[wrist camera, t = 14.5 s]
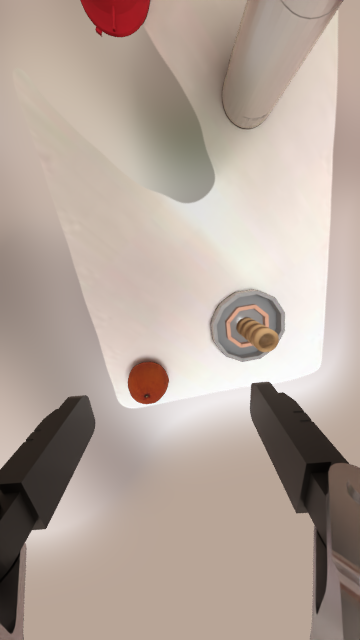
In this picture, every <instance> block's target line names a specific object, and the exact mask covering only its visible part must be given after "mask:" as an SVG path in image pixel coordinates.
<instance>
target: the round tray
mask: <svg viewBox="0 0 360 640" xmlns="http://www.w3.org/2000/svg"><path fill="white" fill-rule="evenodd" d="M244 317H249V318H251V319H253V320H255V321H257V322H259V323H261V324H262V325H264V326H266V327H268V328H270V329H272V330H273V331H275V332H276V333H277V334H278V337H279V340H280V339H281V337H282V335H283V333H284V331H285V313H284V310H283V309H282V307H281V306H280V304H279V303H278V301H277V300H276V298H275V297H273V296H270V295H268V294H266V293H263V292H261V291H258V290H254V289H253V290H246V291H240V292H236V293H233V294H232V295H230V296H229V297H227V298H226V299H225V300H224V301H222V302H221V304H220V305H219V306H218V307H217V309H216V311H215V313H214V315H213V318H212V322H211V331H212V336H213V341H214V342H215V344H216V345H217V346H218V347H219V349H220V350H221V351H222V352H223V353H224V355H225V356H226V357H229V358H232V359H235V360H238V361H241V362H244V361H250V360H255V359H260V358H262V357H263V356H265V355H266V354H267V353H269V352H270V351H269V352H261V351H259V350H258V349H257V348H256V347H254V346H253V345H252V344H251V343H250V342H249V341H247V340H246V339H245V338H244V337H243V336H241V335H240V334H239V333H238V332H237V329H236V326H237V323H238V321H239V320H240V319H242V318H244ZM278 342H279V341H278Z"/></svg>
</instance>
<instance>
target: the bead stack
mask: <svg viewBox="0 0 360 640" xmlns="http://www.w3.org/2000/svg"><path fill="white" fill-rule="evenodd" d="M236 329H237V332H238V333H239V334H240V335H241V336H243V337H244V338H245V339H246V340H247V341H249V342H250V343H251V344H252V345H253V346H254V347H256V348H257V349H258V350H259V351H261V352H269V351H272V350H273V349H274V348H275V347H276V346H277V344H278V341H279V337H278V334H277V333H276V332H275V331H273V330H272V329H270V328H268V327H266V326H264V325H262V324H261V323H259V322H257V321H255V320H253V319H251V318H249V317H244V318H242V319H240V320H239V321H238V323H237V326H236Z"/></svg>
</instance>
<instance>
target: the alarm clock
mask: <svg viewBox="0 0 360 640" xmlns="http://www.w3.org/2000/svg"><path fill="white" fill-rule="evenodd" d="M81 3H82V5H83V8H84V10H85V12H86V13H87V15H88V17H89V18H90V19H91V21H92V22H93V23H94V25H96V33H98V34H99V35H100V36H101V37H102V31H103V32H104V33H106V34H108V35H111V36H114V37H125V36H129V35H131V34H133V33H134V32H135V31H137V30H138V29H139V28H140V26H141V25H142V24H143V22H144V20H145V18H146V16H147V13H148V9H149V4H150V0H81Z"/></svg>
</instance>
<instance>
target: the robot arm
mask: <svg viewBox="0 0 360 640" xmlns="http://www.w3.org/2000/svg"><path fill="white" fill-rule="evenodd" d="M342 2H343V0H247V3H246V7H245V10H244V13H243V17H242V20H241V23H240V27H239V30H238V34H237V37H236V40H235V44H234V47H233V50H232V54H231V57H230V60H229V68H228V71H227V74H226V77H225V81H224V85H223V92H222V98H223V105H224V109H225V111H226V114H227V116H228V117H229V119H230V120H231V121H232V122H233V123H234V124H235V125H237V126H239V127H241V128H253V127H256V126H258V125H260V124H261V123H262V122H263V121H264V120H265V119H266V118H267V117H268V115H269V114H270V112H271V111H272V109H273V108H274V106H275V105H276V103H277V101H278V100H279V98H280V97H281V95H282V94H283V92H284V91H285V89H286V88H287V86H288V85H289V83H290V82H291V80H292V79H293V77H294V76H295V74H296V72H297V71H298V69H299V68H300V66H301V65H302V63H303V62H304V60H305V59H306V57H307V56H308V54H309V53H310V51H311V49H312V48H313V46H314V45H315V43H316V42H317V40H318V39H319V37H320V36H321V34H322V33H323V31H324V29H325V28H326V26H327V25H328V23H329V22H330V20H331V19H332V17H333V16H334V14H335V13H336V11H337V10H338V8H339V6H340V5H341V3H342ZM250 413H251V417H252V421H253V423H254V425H255V427H256V429H257V432H258V434H259V436H260V438H261V440H262V442H263V444H264V446H265V448H266V450H267V452H268V455H269V457H270V459H271V461H272V463H273V465H274V467H275V469H276V471H277V474H278V476H279V478H280V480H281V482H282V484H283V486H284V488H285V490H286V492H287V494H288V497H289V499H290V501H291V503H292V505H293V507H294V509H295V511H296V513H309V515H310V517H311V519H312V521H313V523H314V525H315V526H314V552H313V606H312V626H311V634H310V640H360V468H359V467H357V466H354V465H351V464H349V463H348V462H347V461H346V460H345V458H344V457H343V456H342V455H341V454H340V453H339V451H338V450H337V449H336V448H335V447H334V446H333V444H332V443H331V442H330V441H329V440H328V439H327V437H326V436H325V435H324V434H323V433H322V432H321V430H320V429H319V428H318V427H317V426H316V425H315V423H314V422H312V421H311V419H310V418H309V416H308V415H307V414H306V413H304V411H303V410H302V408H301V407H300V406H299V405H298V404H297V402H296V401H294V400H293V399H292V398H291V397H289V396H287V395H286V394H285V393H278V392H277V391H276V390H275V388H274V387H273V386H272V384H271V383H270V382H260V383H252V385H251V400H250ZM94 429H95V419H94V415H93V412H92V408H91V405H90V401H89V398H88V397H87V396H86V395H85V396H72V397H68V398H67V399H66V400H65V402H64V403H63V404H62V405H61V406H60V408H59V409H56V410H55V411H53V412H52V413H51V414H49V415H48V416H47V417H46V418H45V419H43V420H42V422H41V423H40V424H39V425H38V426H37V428H36V429H35V430H34V432H32V433H31V434H30V436H29V437H28V438H27V439H26V442H24V443H23V444H22V445H21V446H20V447H19V449H18V450H17V451H16V452H15V453H14V455H13V456H12V457H11V458H10V459H9V460H8V461H7V463H6V464H5V465H4V466H3V467H2V468H1V469H0V640H24V637H23V621H24V598H25V574H26V544H25V541H26V540H27V538H28V536H29V534H30V532H31V530H39V529H46V528H47V526H48V524H49V522H50V520H51V518H52V516H53V514H54V511H55V510H56V508H57V506H58V504H59V501H60V500H61V497H62V496H63V494H64V492H65V490H66V487H67V485H68V483H69V481H70V479H71V477H72V475H73V473H74V471H75V469H76V467H77V465H78V463H79V461H80V459H81V457H82V455H83V453H84V451H85V449H86V447H87V445H88V443H89V441H90V439H91V437H92V435H93V432H94Z"/></svg>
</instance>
